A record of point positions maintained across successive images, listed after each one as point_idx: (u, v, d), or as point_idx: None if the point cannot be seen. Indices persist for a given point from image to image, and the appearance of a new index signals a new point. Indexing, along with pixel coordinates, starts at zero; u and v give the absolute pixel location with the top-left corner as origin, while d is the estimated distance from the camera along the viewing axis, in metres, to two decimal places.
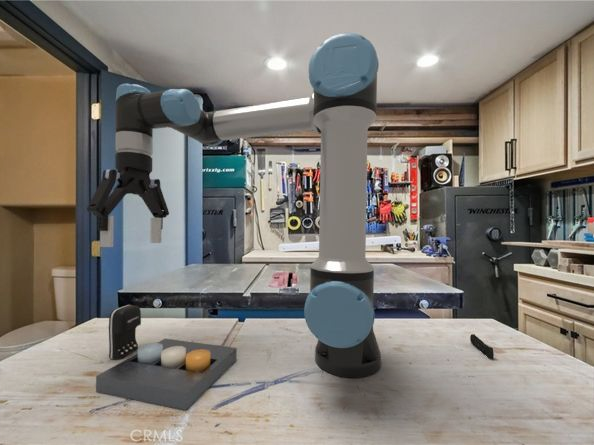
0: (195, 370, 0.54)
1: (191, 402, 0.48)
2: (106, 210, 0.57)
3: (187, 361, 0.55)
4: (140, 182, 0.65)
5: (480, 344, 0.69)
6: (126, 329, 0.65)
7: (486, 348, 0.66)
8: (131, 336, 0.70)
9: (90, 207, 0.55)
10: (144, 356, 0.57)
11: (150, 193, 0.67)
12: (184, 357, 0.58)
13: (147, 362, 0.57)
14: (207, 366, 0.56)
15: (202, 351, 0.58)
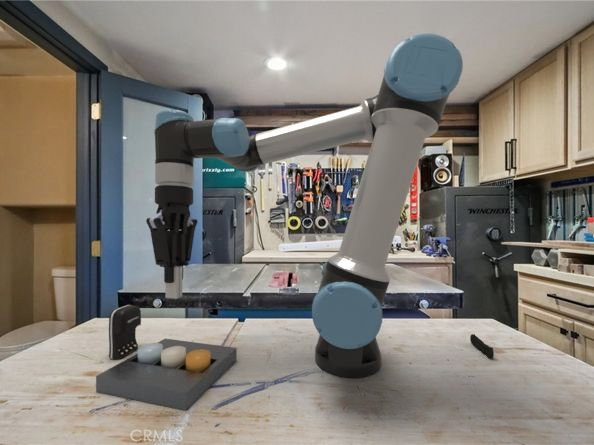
0: (195, 370, 0.54)
1: (191, 402, 0.48)
2: (172, 263, 0.56)
3: (187, 361, 0.55)
4: (181, 215, 0.59)
5: (480, 344, 0.69)
6: (126, 329, 0.65)
7: (486, 348, 0.66)
8: (131, 336, 0.70)
9: (159, 261, 0.55)
10: (144, 356, 0.57)
11: (184, 230, 0.59)
12: (184, 357, 0.58)
13: (147, 362, 0.57)
14: (207, 366, 0.56)
15: (202, 351, 0.58)
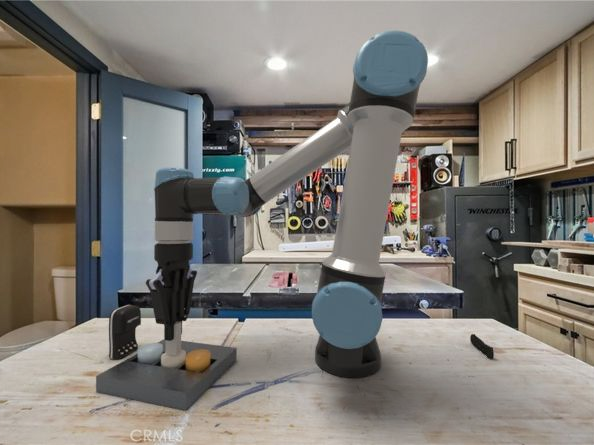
0: (195, 370, 0.54)
1: (191, 402, 0.48)
2: (172, 321, 0.56)
3: (187, 361, 0.55)
4: (181, 270, 0.59)
5: (480, 344, 0.69)
6: (126, 329, 0.65)
7: (486, 348, 0.66)
8: (131, 336, 0.70)
9: (159, 320, 0.55)
10: (144, 356, 0.57)
11: (184, 286, 0.59)
12: (184, 361, 0.58)
13: (147, 362, 0.57)
14: (207, 366, 0.56)
15: (202, 351, 0.58)
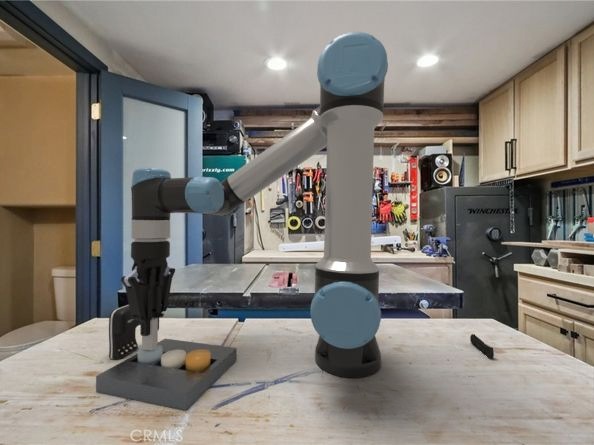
0: (195, 370, 0.54)
1: (191, 402, 0.48)
2: (148, 317, 0.58)
3: (187, 361, 0.55)
4: (157, 267, 0.60)
5: (480, 344, 0.69)
6: (126, 329, 0.65)
7: (486, 348, 0.66)
8: (131, 336, 0.70)
9: (134, 316, 0.57)
10: (144, 358, 0.57)
11: (160, 283, 0.61)
12: (184, 361, 0.58)
13: None
14: (207, 366, 0.56)
15: (202, 351, 0.58)
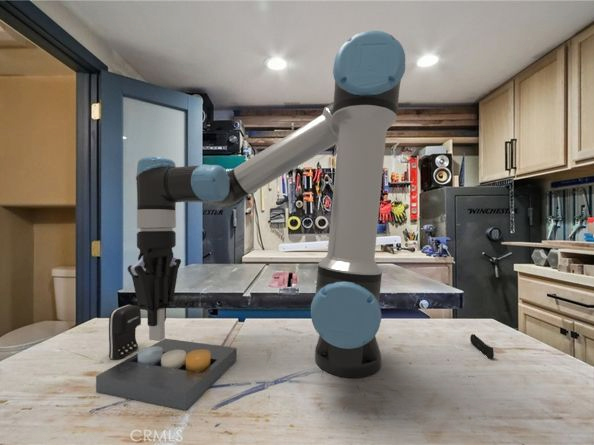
0: (195, 370, 0.54)
1: (191, 402, 0.48)
2: (155, 307, 0.58)
3: (187, 361, 0.55)
4: (163, 257, 0.60)
5: (480, 344, 0.69)
6: (126, 329, 0.65)
7: (486, 348, 0.66)
8: (131, 336, 0.70)
9: (141, 305, 0.56)
10: (144, 360, 0.57)
11: (167, 273, 0.60)
12: (184, 361, 0.58)
13: None
14: (207, 366, 0.56)
15: (202, 351, 0.58)
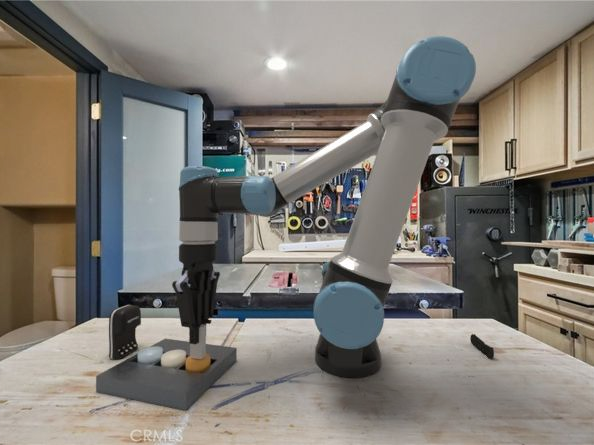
0: None
1: (191, 402, 0.48)
2: (198, 324, 0.55)
3: (187, 365, 0.55)
4: (205, 271, 0.57)
5: (480, 344, 0.69)
6: (126, 329, 0.65)
7: (486, 348, 0.66)
8: (131, 336, 0.70)
9: (184, 323, 0.53)
10: (144, 360, 0.57)
11: (208, 287, 0.57)
12: (184, 361, 0.58)
13: None
14: None
15: None
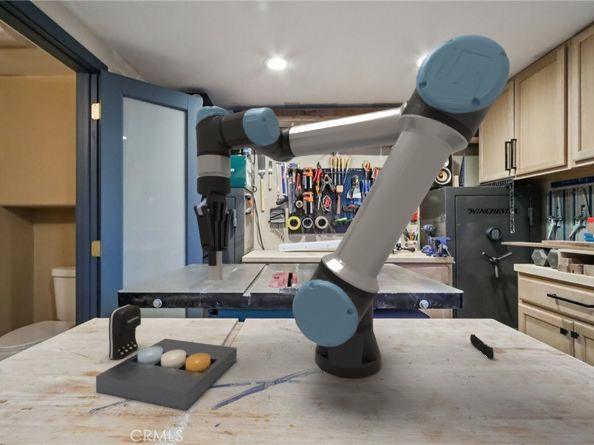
0: None
1: (191, 402, 0.48)
2: (216, 248, 0.61)
3: (187, 365, 0.55)
4: (220, 203, 0.64)
5: (480, 344, 0.69)
6: (126, 329, 0.65)
7: (486, 348, 0.66)
8: (131, 336, 0.70)
9: (204, 245, 0.60)
10: (144, 360, 0.57)
11: (223, 218, 0.64)
12: (184, 361, 0.58)
13: None
14: None
15: (202, 355, 0.58)
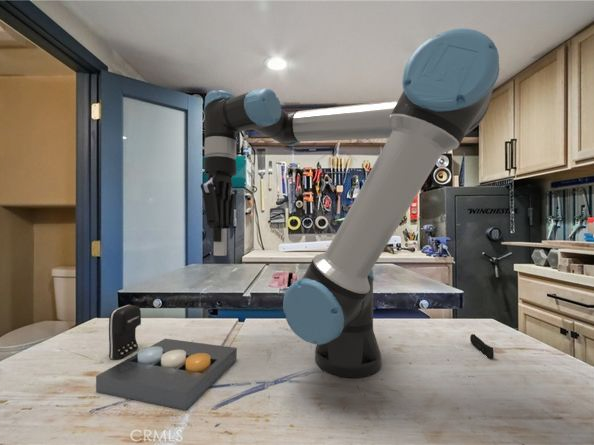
0: None
1: (191, 402, 0.48)
2: (221, 225, 0.65)
3: (187, 365, 0.55)
4: (226, 183, 0.67)
5: (480, 344, 0.69)
6: (126, 329, 0.65)
7: (486, 348, 0.66)
8: (131, 336, 0.70)
9: (210, 221, 0.64)
10: (144, 360, 0.57)
11: (228, 197, 0.68)
12: (184, 361, 0.58)
13: None
14: None
15: (202, 355, 0.58)
